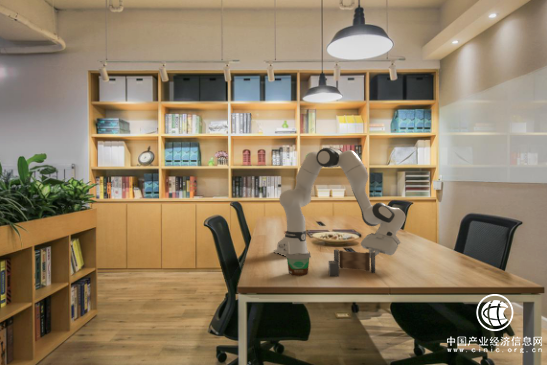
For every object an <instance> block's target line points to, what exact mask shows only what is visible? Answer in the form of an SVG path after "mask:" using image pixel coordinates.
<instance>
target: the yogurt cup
mask: <svg viewBox="0 0 547 365" xmlns="http://www.w3.org/2000/svg"><path fill="white" fill-rule="evenodd" d="M311 257H312V255H311V252H310V251H308V253H306V254H302V253H296V254H288V253H287V254H286V257H285V258H286V262H287V270H288V274H289V275H290V274H291V275H290V276H295V277H303V276H307V275H308V274H309V267H310V265H309V264H310V258H311Z"/></svg>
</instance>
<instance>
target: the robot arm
mask: <svg viewBox="0 0 547 365" xmlns="http://www.w3.org/2000/svg"><path fill="white" fill-rule="evenodd" d="M338 167H340V168H341V170H342V171H343V173H344V174H345V177H346V179H347V181H348V183H349V186H350V188H351V191H352V192H353V193H352V194H353V195H354V198H355V200H356V202H357V205H358V206H359V208H360V212H361V218H362V221H363V222H364V223H365V225H367V226H369V227H376V226H378V225H379V227H378V229H377V230H376V231H375V233H374V232H373V233H368V234H367V235H366V236H365V237H364V238H363V239H362V240H361V242H360V246H361V247H362V248H363V249H366V250H368V253H370V259H371V252H374V253H375V257H376V256H378V255H379V254H382V255H383V254H385V255H388V256H393V255H394V254H395V252H396V251H397V250H398V247H399V245H400V244H401V243H402V242H401V240H400V239H399V237H398V236H397V233H398V232H399V231H400V230H401V228H402V227H403V225H404V222H405V221H406V214H405V212H404V211H403V210H402V209H401V208H399V207H391V206H389V205H387V204H386V203H383V202H377V203H374V204H372V203H371V201H370V198H369V197H368V195H367V194H368V193H367V192H366V186H367V183H368V179H369V173H368V170H367V168H366V166H365V164H364V163H363V161H362V160H361V158H360V157H359V156H358V154H357V153H356V152H355V151H354V150H350V149H349V150H345V151H342V150H341V149H339V148H336V147H324V148H321V149H319V150H318V151H310V152H309V153H308V154H307V156H306V157H305V158H304V160H303V162H302V164H301V166H300V168H299V170H298V171H297V174H296V175H295V180H296V183H295V187H294V189H287V190H285V191H283V192H281V194H280V195H279V199H278V200H279V204H280V205H281V207H283V210H284V212H285V217H286V230H284V237H283V238H281V239H280V240H279V241H278V243H277V246H276V249H274V250H273V251H274V252H276V253H275V254H277V253H279V254H281V255H280V256H282V255H284V256H286V254H287V253H288V254H296V253H302V254H306V253H309V249H308V247H307V246H308V243H307V230H306V217H305V215H304V214H303V211H302V207H306V206H307V205H308V204H310V203H311V201H312V190H313V186H314V184H315V182H316V180H317V178H318V176H319V174H320V171H321V170H322V168H330V169H331V168H332V169H333V168H338ZM274 252H273V253H274ZM279 254H278V255H279ZM284 256H283V257H284Z"/></svg>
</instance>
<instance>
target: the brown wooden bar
mask: <svg viewBox="0 0 547 365" xmlns="http://www.w3.org/2000/svg"><path fill="white" fill-rule="evenodd" d="M339 269H351V270H359V271H366V272H371V258H370V253H369V251H368V252H360V251H358V252H357V251H356V252H355V251H344V250H340V249H339Z"/></svg>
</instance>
